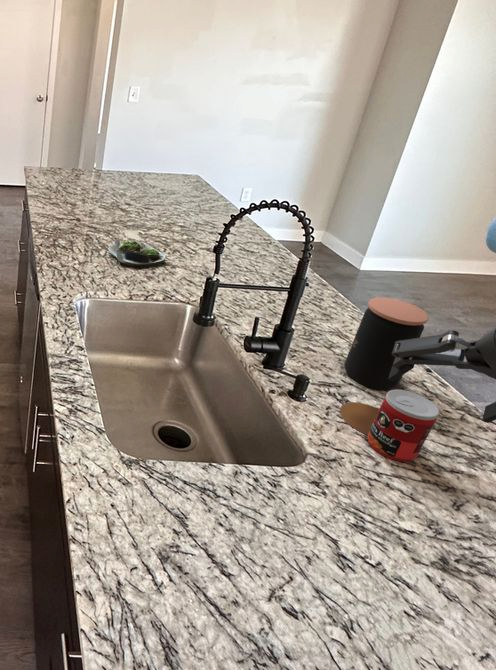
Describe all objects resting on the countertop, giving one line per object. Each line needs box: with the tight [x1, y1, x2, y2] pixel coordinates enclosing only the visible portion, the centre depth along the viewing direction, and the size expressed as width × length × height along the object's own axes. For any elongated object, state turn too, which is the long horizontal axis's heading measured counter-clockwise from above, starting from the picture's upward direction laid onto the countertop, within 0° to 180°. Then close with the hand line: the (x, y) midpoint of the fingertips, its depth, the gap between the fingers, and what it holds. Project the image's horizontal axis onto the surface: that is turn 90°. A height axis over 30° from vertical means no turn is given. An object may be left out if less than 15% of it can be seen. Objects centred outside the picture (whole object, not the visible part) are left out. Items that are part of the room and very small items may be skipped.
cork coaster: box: [339, 402, 380, 436], centre depth 109 cm, size 11×11×1 cm
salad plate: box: [107, 239, 166, 269], centre depth 179 cm, size 19×18×5 cm
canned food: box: [367, 389, 440, 463], centre depth 100 cm, size 8×8×11 cm
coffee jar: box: [344, 296, 430, 391], centre depth 119 cm, size 11×11×18 cm
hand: (438, 393), depth 89 cm, fingers open, 13 cm apart
